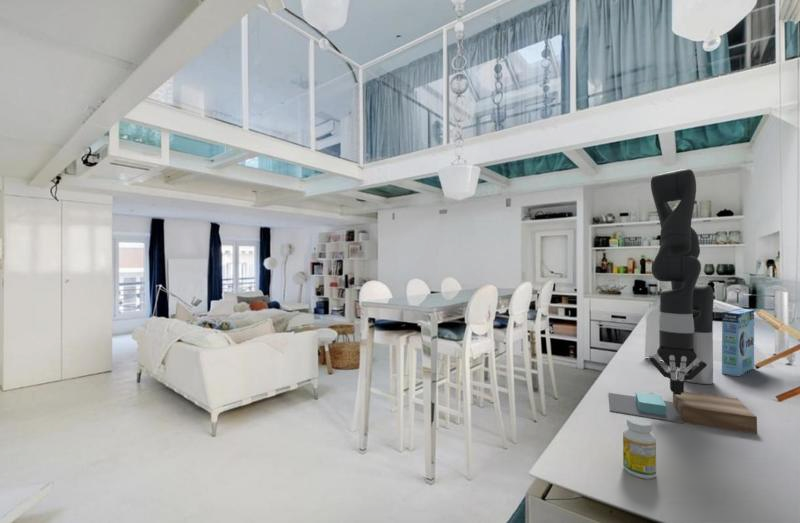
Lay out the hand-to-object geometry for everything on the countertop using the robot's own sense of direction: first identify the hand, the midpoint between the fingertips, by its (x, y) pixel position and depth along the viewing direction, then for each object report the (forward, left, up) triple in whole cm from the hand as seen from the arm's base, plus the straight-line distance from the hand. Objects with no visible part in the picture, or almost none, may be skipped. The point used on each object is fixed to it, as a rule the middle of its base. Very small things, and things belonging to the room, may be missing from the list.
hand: (676, 393), depth 99 cm
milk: (-68, +7, -5) cm, 69 cm away
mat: (0, -8, -5) cm, 9 cm away
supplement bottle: (+39, -12, -5) cm, 41 cm away
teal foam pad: (0, -6, -4) cm, 7 cm away
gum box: (-60, +28, -5) cm, 67 cm away
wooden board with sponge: (0, +7, -5) cm, 9 cm away
